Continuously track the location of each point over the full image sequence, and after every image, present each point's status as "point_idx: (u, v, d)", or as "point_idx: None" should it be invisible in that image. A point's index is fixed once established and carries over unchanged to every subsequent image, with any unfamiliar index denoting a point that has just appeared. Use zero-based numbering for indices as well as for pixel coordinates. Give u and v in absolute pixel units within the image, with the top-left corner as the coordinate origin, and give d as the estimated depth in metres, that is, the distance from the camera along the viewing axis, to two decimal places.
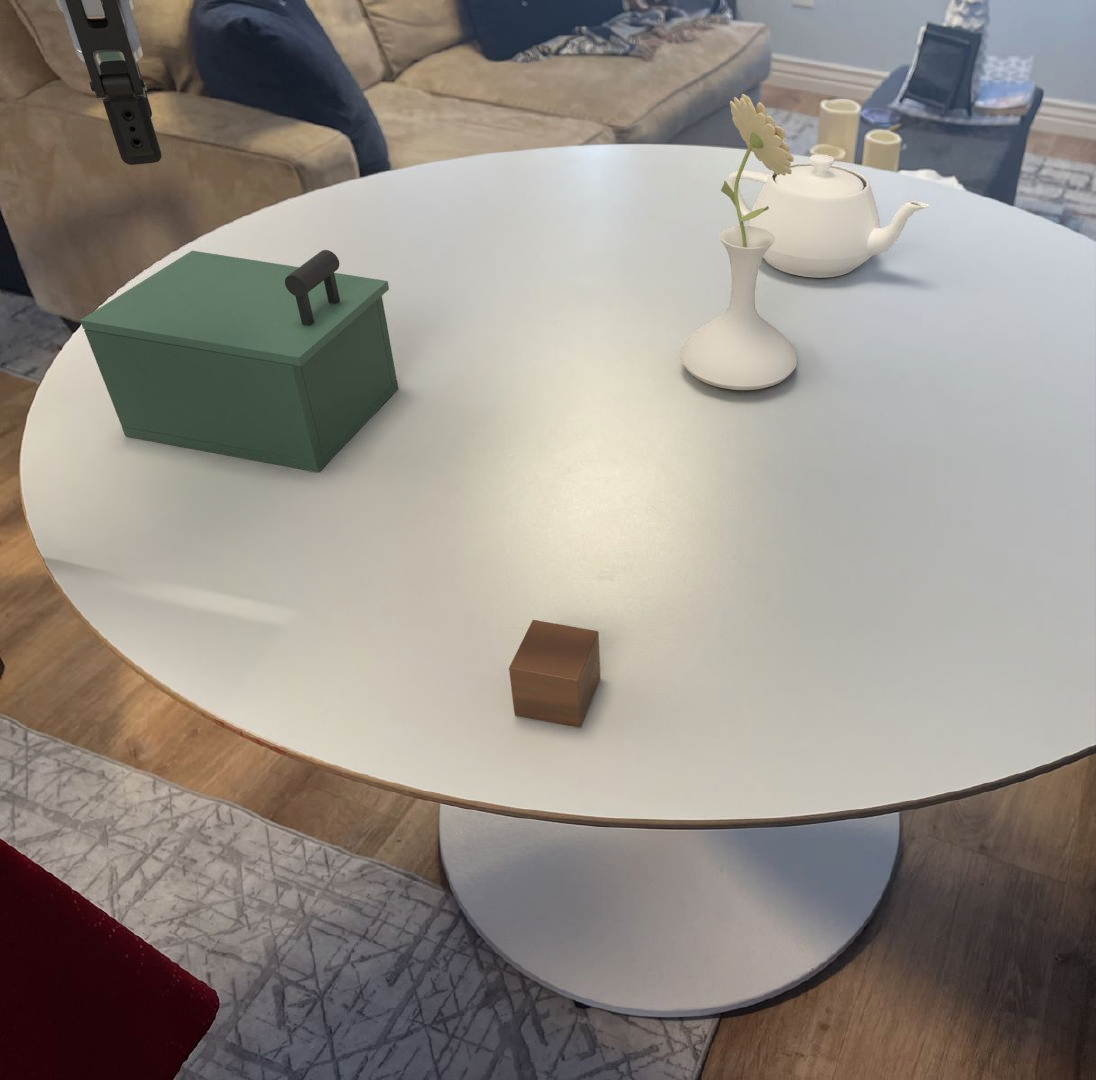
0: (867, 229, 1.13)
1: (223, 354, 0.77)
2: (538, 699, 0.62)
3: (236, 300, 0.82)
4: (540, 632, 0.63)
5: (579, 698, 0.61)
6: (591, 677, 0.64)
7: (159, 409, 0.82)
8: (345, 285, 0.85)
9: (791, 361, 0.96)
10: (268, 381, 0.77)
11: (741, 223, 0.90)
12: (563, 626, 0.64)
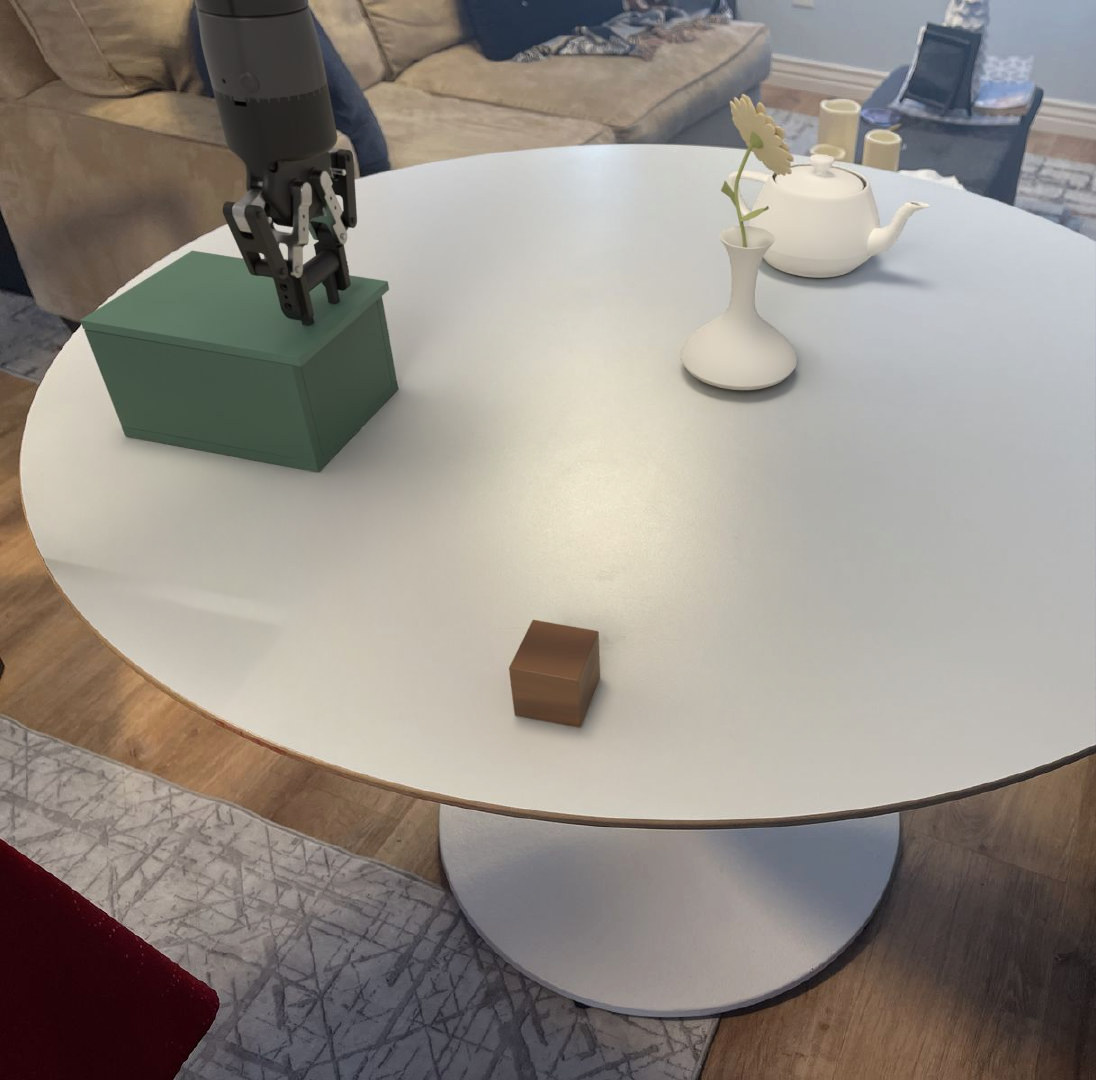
0: (867, 229, 1.13)
1: (223, 354, 0.77)
2: (538, 699, 0.62)
3: (236, 300, 0.82)
4: (540, 632, 0.63)
5: (579, 698, 0.61)
6: (591, 677, 0.64)
7: (159, 409, 0.82)
8: None
9: (791, 361, 0.96)
10: (268, 381, 0.77)
11: (741, 223, 0.90)
12: (563, 626, 0.64)
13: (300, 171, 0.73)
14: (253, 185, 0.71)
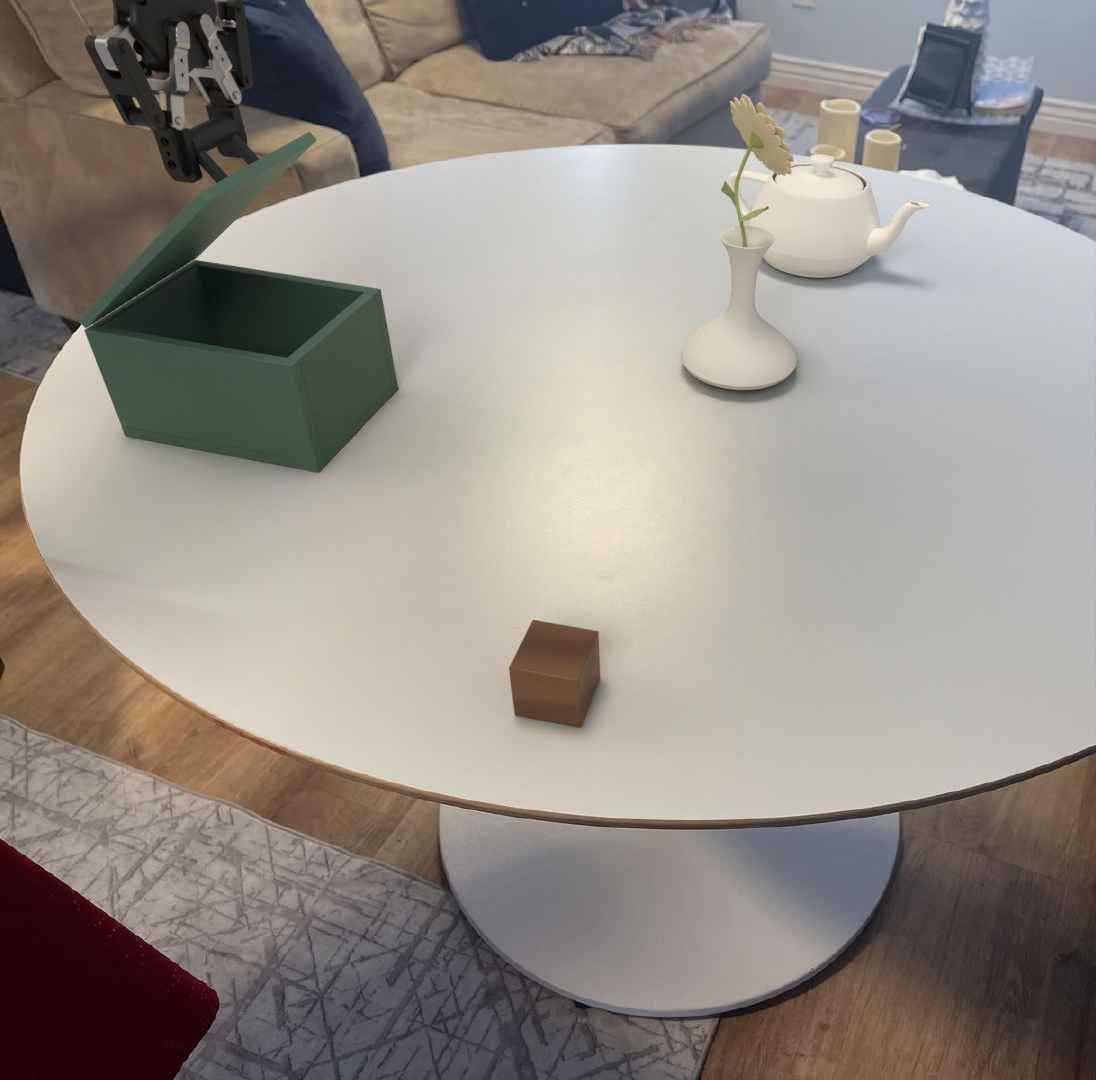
0: (867, 229, 1.13)
1: (223, 354, 0.77)
2: (538, 699, 0.62)
3: None
4: (540, 632, 0.63)
5: (579, 698, 0.61)
6: (591, 677, 0.64)
7: (159, 409, 0.82)
8: None
9: (791, 361, 0.96)
10: (268, 381, 0.77)
11: (741, 223, 0.90)
12: (563, 626, 0.64)
13: (176, 11, 0.68)
14: (121, 20, 0.65)
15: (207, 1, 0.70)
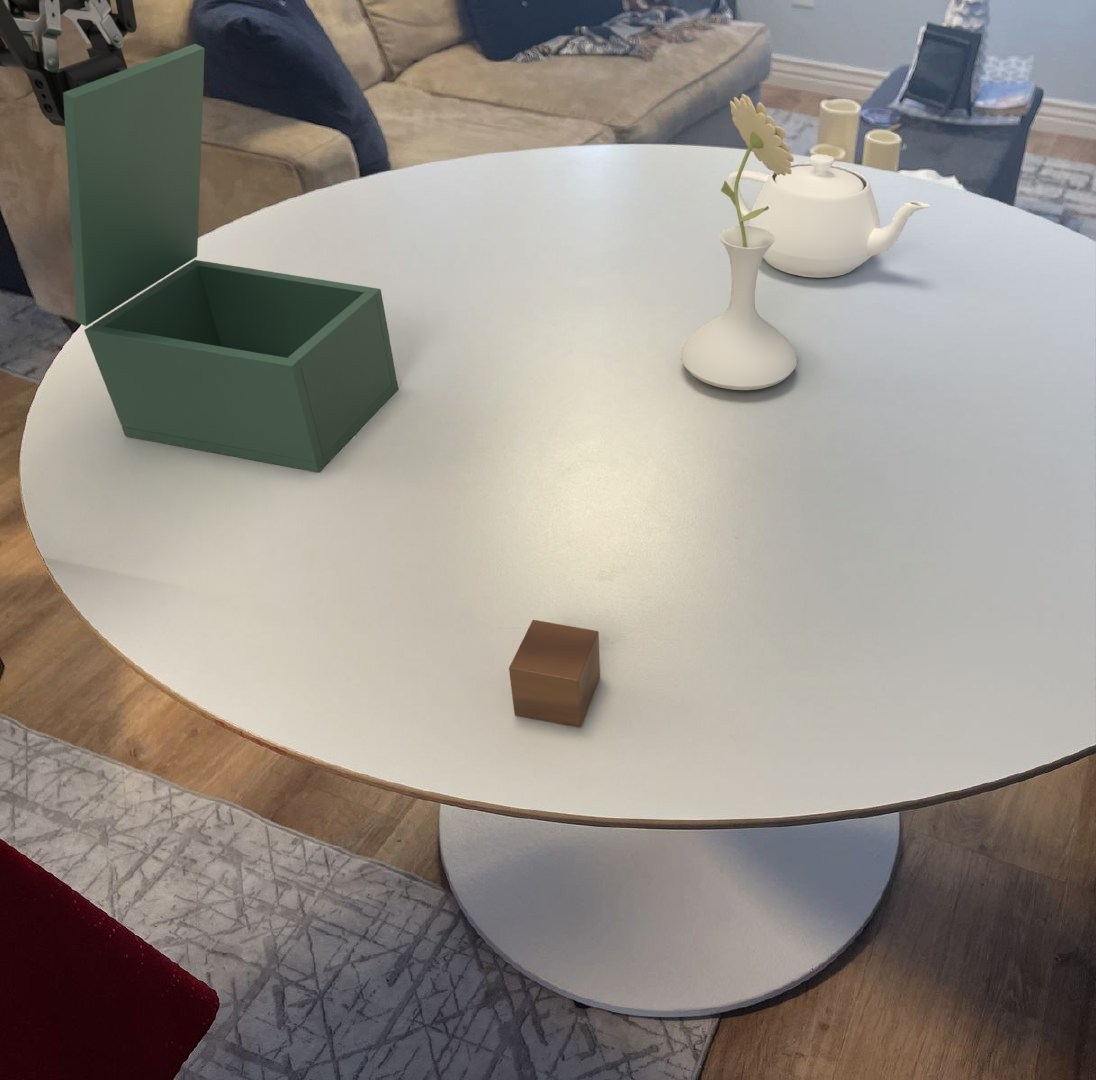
0: (867, 229, 1.13)
1: (223, 354, 0.77)
2: (538, 699, 0.62)
3: None
4: (540, 632, 0.63)
5: (579, 698, 0.61)
6: (591, 677, 0.64)
7: (159, 409, 0.82)
8: None
9: (791, 361, 0.96)
10: (268, 381, 0.77)
11: (741, 223, 0.90)
12: (563, 626, 0.64)
13: None
14: None
15: None
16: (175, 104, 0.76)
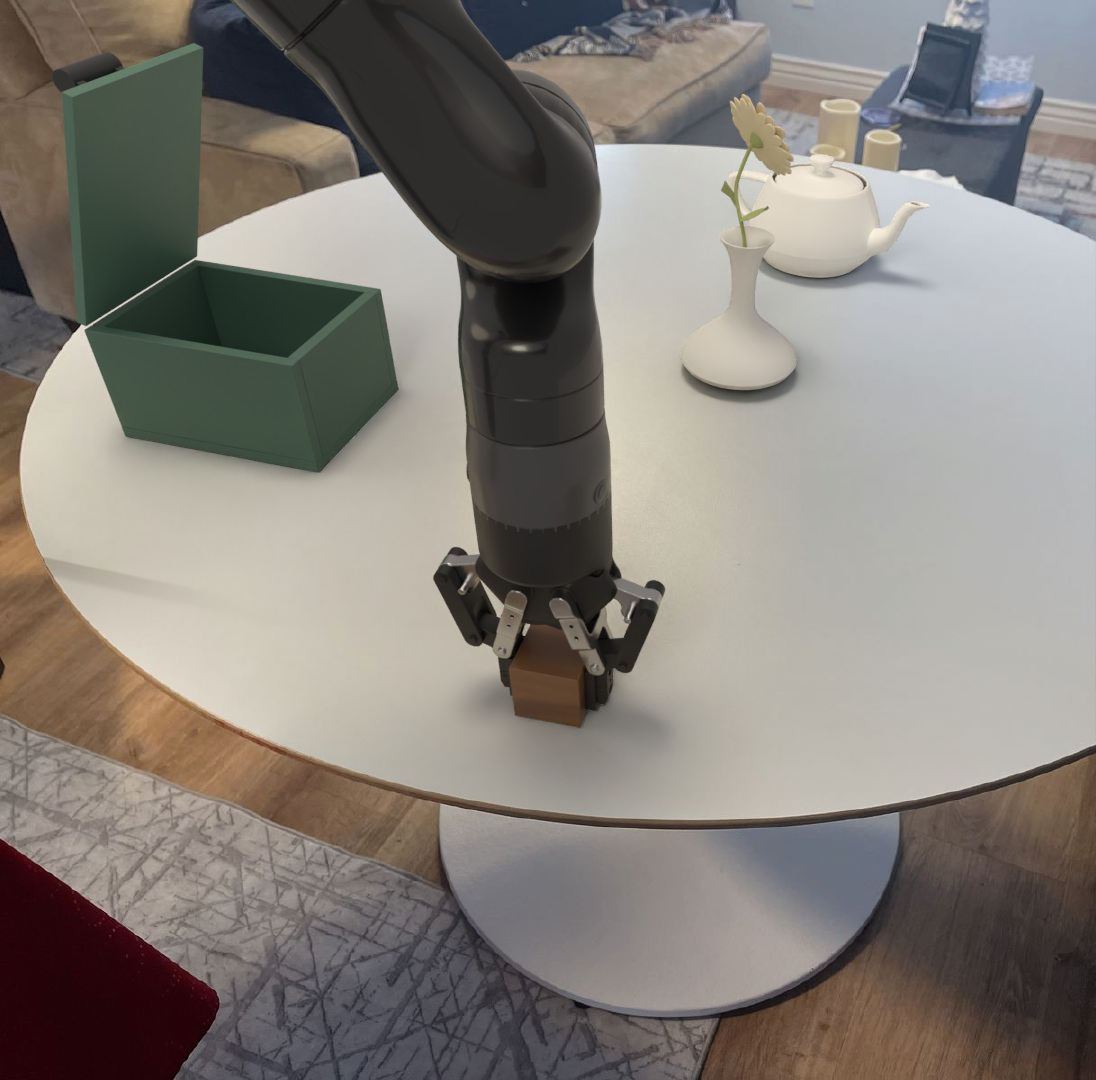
0: (867, 229, 1.13)
1: (223, 354, 0.77)
2: (538, 699, 0.62)
3: None
4: (540, 632, 0.63)
5: (579, 698, 0.61)
6: None
7: (159, 409, 0.82)
8: None
9: (791, 361, 0.96)
10: (268, 381, 0.77)
11: (741, 223, 0.90)
12: None
13: None
14: None
15: (593, 588, 0.57)
16: (174, 103, 0.76)
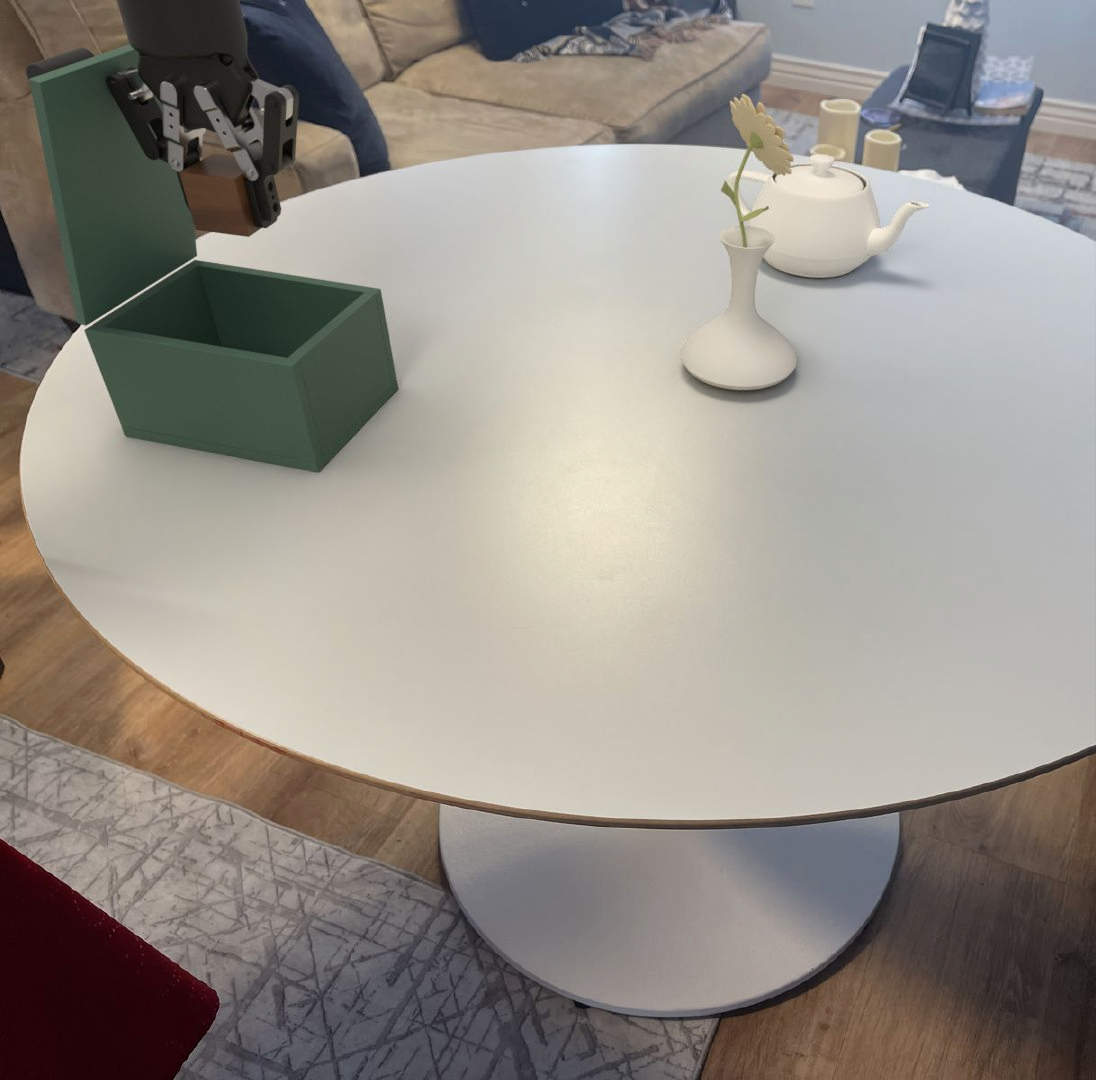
0: (867, 229, 1.13)
1: (223, 354, 0.77)
2: (209, 207, 0.75)
3: None
4: (215, 158, 0.76)
5: (240, 201, 0.74)
6: None
7: (159, 409, 0.82)
8: None
9: (791, 361, 0.96)
10: (268, 381, 0.77)
11: (741, 223, 0.90)
12: None
13: (184, 74, 0.70)
14: None
15: (228, 78, 0.69)
16: None
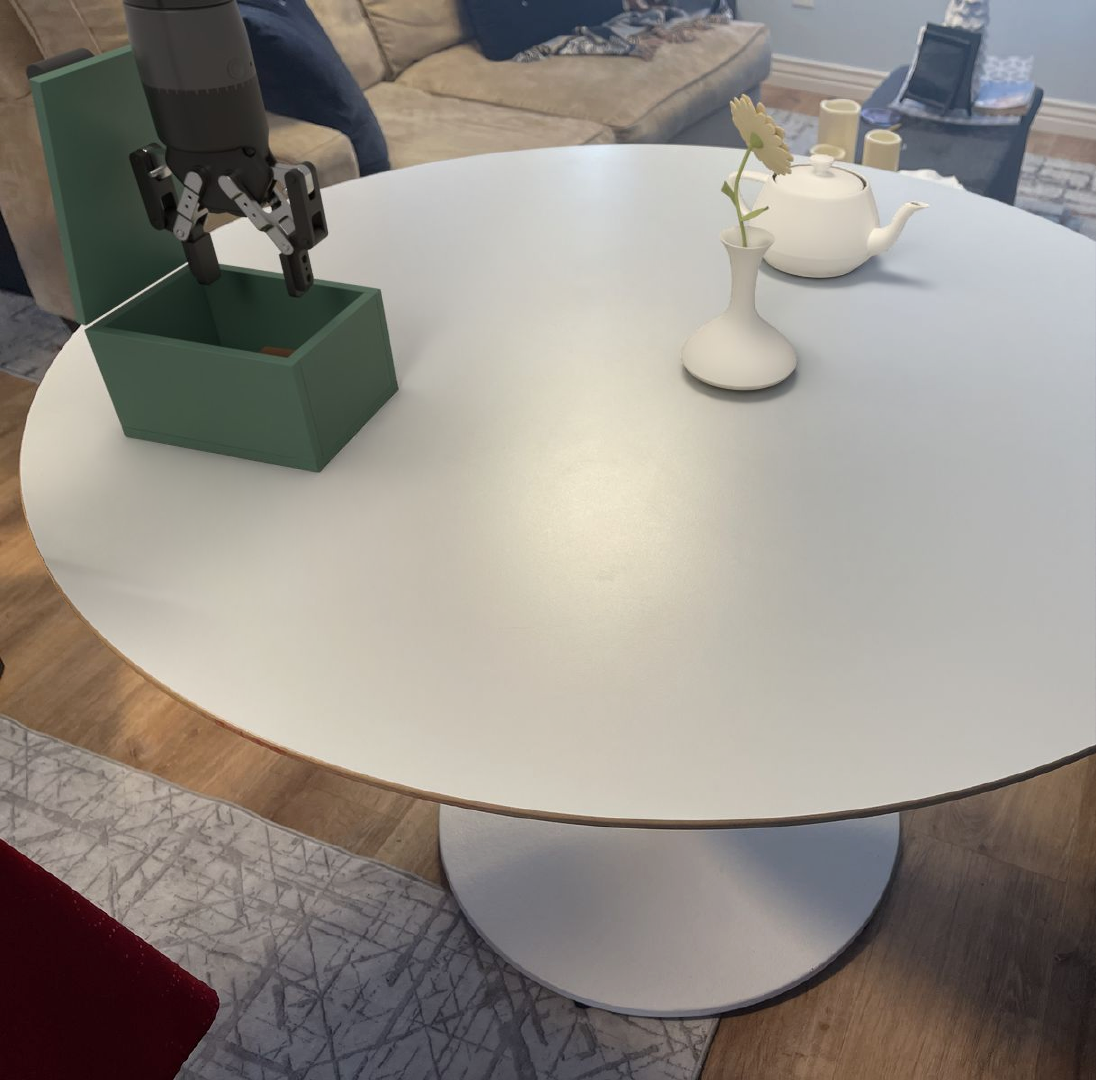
0: (867, 229, 1.13)
1: (223, 354, 0.77)
2: None
3: None
4: (268, 353, 0.86)
5: None
6: None
7: (159, 409, 0.82)
8: None
9: (791, 361, 0.96)
10: (268, 381, 0.77)
11: (741, 223, 0.90)
12: (287, 349, 0.87)
13: (209, 164, 0.74)
14: None
15: (249, 169, 0.73)
16: None
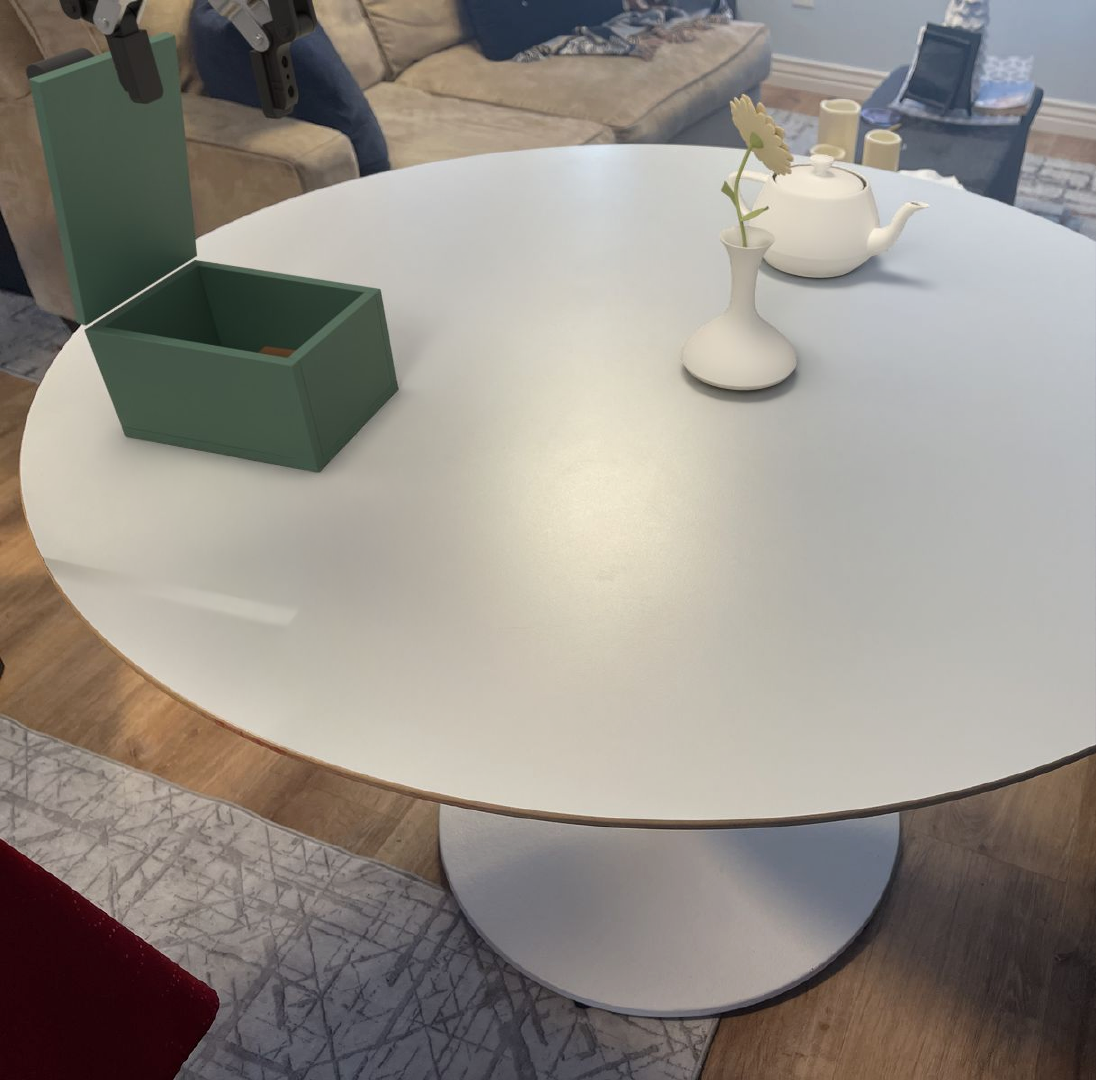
0: (867, 229, 1.13)
1: (223, 354, 0.77)
2: None
3: None
4: (268, 353, 0.86)
5: None
6: None
7: (159, 409, 0.82)
8: None
9: (791, 361, 0.96)
10: (268, 381, 0.77)
11: (741, 223, 0.90)
12: (287, 349, 0.87)
13: None
14: None
15: None
16: None
